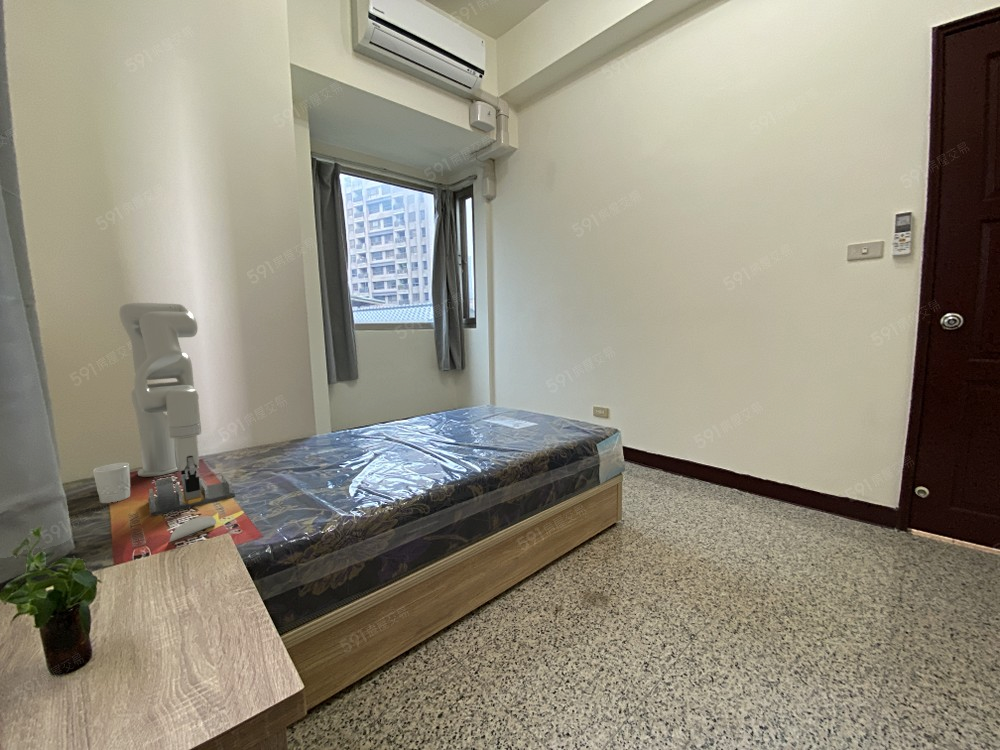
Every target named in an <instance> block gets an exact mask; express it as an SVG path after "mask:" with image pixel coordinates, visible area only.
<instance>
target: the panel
mask: <svg viewBox="0 0 1000 750" xmlns="http://www.w3.org/2000/svg"><path fill="white" fill-rule="evenodd" d="M185 479H186V475H185V474H184V475H181V484H182V491H183V494H184V497H185V499H186V500H188V499H193V498H197V497H201V493H200V490H198V491H193V492H189V493H187V492H186V485H185ZM199 484H200V483H199Z"/></svg>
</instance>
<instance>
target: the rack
mask: <svg viewBox="0 0 1000 750" xmlns="http://www.w3.org/2000/svg"><path fill="white" fill-rule="evenodd" d="M199 483H200V493H201V497H197V498H193V499H188V500H186V499H185V497H184V494H183V490H181V487H180V484H179V483H178V482H176V483H174V481H173V479H172V477H166V478H163V479H157V480H155V488H156V496H155V495H154V490H153V488H148V494H149V498H148V499H147V502H148V506H149V512H150V517H154V516H155V517H156V516H158V515H162V514H166V513H171V512H175V511H179V510H184V509H187V508H191V507H197V506H200V505H205V504H209V503H213V502H217V501H220V500H225V499H228V498H230V499H231V498H233V497H236V495H235V494H236V493H235V492H234V489H233V483H232V481H231V480H230V479H229V478H228V476H227V474H226V473H221V482H218V483H214V484H209V485H207V483H205V481H204V479H203V478H202V477H201V478H200V477H199Z"/></svg>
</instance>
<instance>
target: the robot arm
mask: <svg viewBox="0 0 1000 750" xmlns="http://www.w3.org/2000/svg"><path fill="white" fill-rule="evenodd" d="M119 319H120V322H121V324H122V327H123V329H124V330H125V331H126V333H127V335H128V337H129V339H130V343H131V351H132V353H131V354H132V362H133V369H134V374H135V375H134V379H133V380H134V382H133V383H134V384H133V385H134V388H133V389H132V390H131V394H130V396H131V398H130V399H131V402H132V405H133V408H134V412H135V415H136V419H137V428H138V437H139V443H140V454H141V462H142V468H140V469H139V470H137V476H139V477H145V478H146V477H159V476H164V475H168V474H172V473H175V472H179V473H181V476H182V475H184V474H185V475H186V479H185V485H186V492H187V493H189V492H193V491H198V490H200V484H199V479H200V476H199V474H198V469H199V468H200V455H199V445H198V444H199V443H198V436H199V435H200V436H201V435H202V424H201V417H200V416H201V412H200V403H199V392H198V390H197V389H196V388H195V384H194V383H195V382H194V371H193V364H192V360H191V357H190V356H189V354H187V353H186V352H184V351H182V348H181V345H180V342H179V338H193V337H196V335H197V333H198V329H199V328H198V322H197V319H196V317H195V316H194V314H193V313H192V312H191V310H189V309H188V308H187V307H186V306H185V305H183V304H181V303H164V302H163V303H161V302H160V303H157V302H128V303H125V304H123V305H121V307H120V308H119ZM167 379H170V380H171V379H176V380H177V381H170V382H167V381H166V382H157V383H148V382H147V381H153V380H154V381H155V380H156V381H157V380H167ZM165 412H166V413H165Z"/></svg>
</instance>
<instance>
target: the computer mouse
mask: <svg viewBox="0 0 1000 750" xmlns="http://www.w3.org/2000/svg"><path fill="white" fill-rule="evenodd" d="M216 524H217V520H216V518H215V517H213V516H210V515H207V516H206V515H205V516H199V517H196V518H192V519H190V520H188V521H186V522H183V523H181V524H177V525H174V526H173V527H170V528H168V529H167V531H170V530H172V529H174V530H173V531H172V533H171V535H170V538H169V541H168V544H169V543H172V542H174V541H177V540H179V539H183V538H185V537H187V536H189V535H192V534H194V533H197V532H200V531H203V530H206V529H207V528H210V527H213V526H215V525H216Z"/></svg>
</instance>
